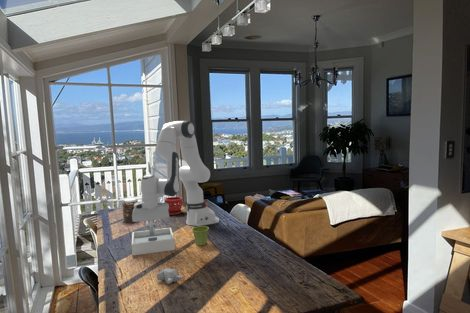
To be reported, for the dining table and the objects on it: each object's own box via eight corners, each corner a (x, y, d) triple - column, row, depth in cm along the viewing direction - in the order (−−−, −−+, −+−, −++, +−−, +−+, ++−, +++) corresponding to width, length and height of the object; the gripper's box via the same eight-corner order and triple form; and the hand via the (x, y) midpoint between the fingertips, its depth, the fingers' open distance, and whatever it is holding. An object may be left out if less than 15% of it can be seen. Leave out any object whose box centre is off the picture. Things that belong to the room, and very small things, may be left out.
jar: (143, 218, 256) (142, 198, 255) (130, 222, 247) (129, 201, 245) (132, 217, 263) (130, 197, 261) (119, 221, 253) (118, 200, 252)
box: (171, 237, 211) (170, 227, 210) (174, 249, 190) (174, 238, 189) (133, 242, 205) (132, 232, 205) (132, 255, 184) (131, 244, 183)
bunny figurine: (172, 263, 160) (186, 271, 148) (174, 275, 160) (188, 283, 148) (152, 269, 155) (165, 277, 143) (154, 280, 155) (166, 289, 143)
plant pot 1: (181, 215, 261) (180, 199, 260) (163, 216, 261) (162, 200, 260) (184, 211, 274) (183, 195, 273) (167, 211, 274) (166, 196, 273)
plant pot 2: (212, 241, 200) (211, 226, 199) (204, 247, 191) (203, 231, 190) (198, 240, 203) (197, 225, 203) (189, 245, 195) (188, 230, 194)
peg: (154, 232, 201) (153, 215, 201) (154, 234, 198) (153, 217, 197) (148, 233, 201) (147, 216, 200) (149, 235, 198) (147, 217, 197)
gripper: (168, 200, 204) (169, 224, 205) (131, 204, 198) (133, 228, 200) (169, 203, 198) (170, 227, 199) (131, 206, 192) (132, 231, 194)
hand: (151, 227), depth 199 cm, fingers closed on peg, 3 cm apart
